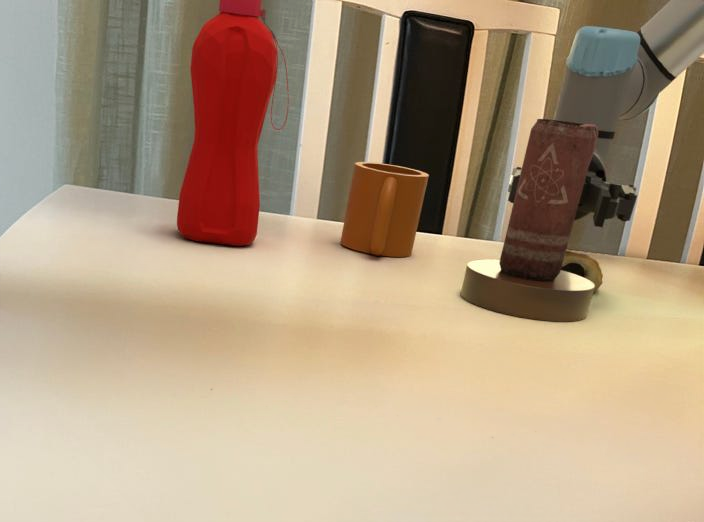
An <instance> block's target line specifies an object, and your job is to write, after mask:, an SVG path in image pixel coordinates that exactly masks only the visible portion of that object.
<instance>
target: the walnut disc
mask: <svg viewBox="0 0 704 522" xmlns="http://www.w3.org/2000/svg"><path fill="white" fill-rule="evenodd" d="M499 262H500V259H476V260H471V261H469V262H468V263H467V264H466V268H465V273H464V276H463V280H462V285H461V290H460V296H461V297H462V298H463V300H465V301H466V302H469V303H470V304H473V305H475V306H478V307H480V308H482V309H486V310H489V311H492V312H495V313H501V314H503V315H509V316H513V317H517V318H522V319H523V318H524V319H528V320H536V321H537V320H538V321H545V322H546V321H547V322H560V323H561V322H564V323H565V322H576V321H577V322H578V321H581V320H584V319H585V318H586V317H587V315H588V312H589V308H590V306H591V302H592V300H593V299H592V298H593V295H594V292H595V291H594V289H595V285H594V283H592V282H591V281H589V280H588V279H586V278H583V277H581V276H578V275H576V274H572V273H569V272H566V271H562V270H561V271H560V274H559V275H558V276H557V277H556V278H555V279H554V280H550V281H541V280H531V279H525V278H520V277H515V276H512V275H509V274H506V273H504V272H502V270H501V268H500V264H499Z"/></svg>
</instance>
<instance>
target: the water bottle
mask: <svg viewBox="0 0 704 522" xmlns="http://www.w3.org/2000/svg"><path fill="white" fill-rule="evenodd" d="M262 1H263V0H219V4H218V12H219V13H218V14H217V15H215V16H213V17H212V18H210V19H209V20H207V21H206V22H205V23H204V25H203V26H202V27H201V29H200V31H199V32H198V34H197V36H196V37H195V39H194V42H193V45H192V47H191V58H190V79H191V90H192V100H193V112H194V113H193V115H194V117H193V118H194V137H193V139H194V140H193V143H192V147H191V151H190V154H189V159H188V162H187V166H186V169H185V173H184V177H183V181H182V183H181V187H180V192H179V198H178V207H177V215H176V229H177V231H178V233H179V234H181V236H182V237H183V238H184V239H187V240H191V241H194V242H202V243H210V244H216V245H217V244H218V245H225V246H236V247H242V246H248V245H250V244H251V243H252V242H254V241H255V240H256V237H257V235H258V226H259V217H260V216H259V215H260V206H261V200H260V199H261V198H260V197H261V195H260V177H259V154H258V145H259V141H260V137H261V133H262V130H263V126H264V122H265V119H266V116H267V111H268V109H269V104H270V100H271V106H270V122H271V126H272V127H273V128H274V130H277V131H279V130H282V129H283V128H284V127H285V125H286V123H287V119H288V115H289V106H286V107H287V108H286V116H285V121H284V124H283V125H282V126H281V127H280V128H276V126H274V123H273V116H272V115H273V104H274V98H275V97H274V96H275V89H276V84H277V83H276V82H277V78H278V68H279V67H278V66H279V54H278V48H279V50H280V52H281V54H282V57H283V60H284V66H285V67H284V69H285V74H286V75H285V76H286V86H287V90H286V91H289V81H288V80H289V79H288V70H287V64H286V63H287V62H286V58H285V54H284V52H283V50H282V49H281V47H280V44H279V43H278V41H277V36H276V35H275V33H274V31H273V30H272V29H271V28H270V26H269V25H268V23H266V19H267V18H266V13H267V11H266V9H265V8H263V9H261V8H262V3H263V2H262ZM260 18H261V19H260ZM271 97H272V99H271ZM289 101H290V100H289V95H287V103H290V102H289Z"/></svg>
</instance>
